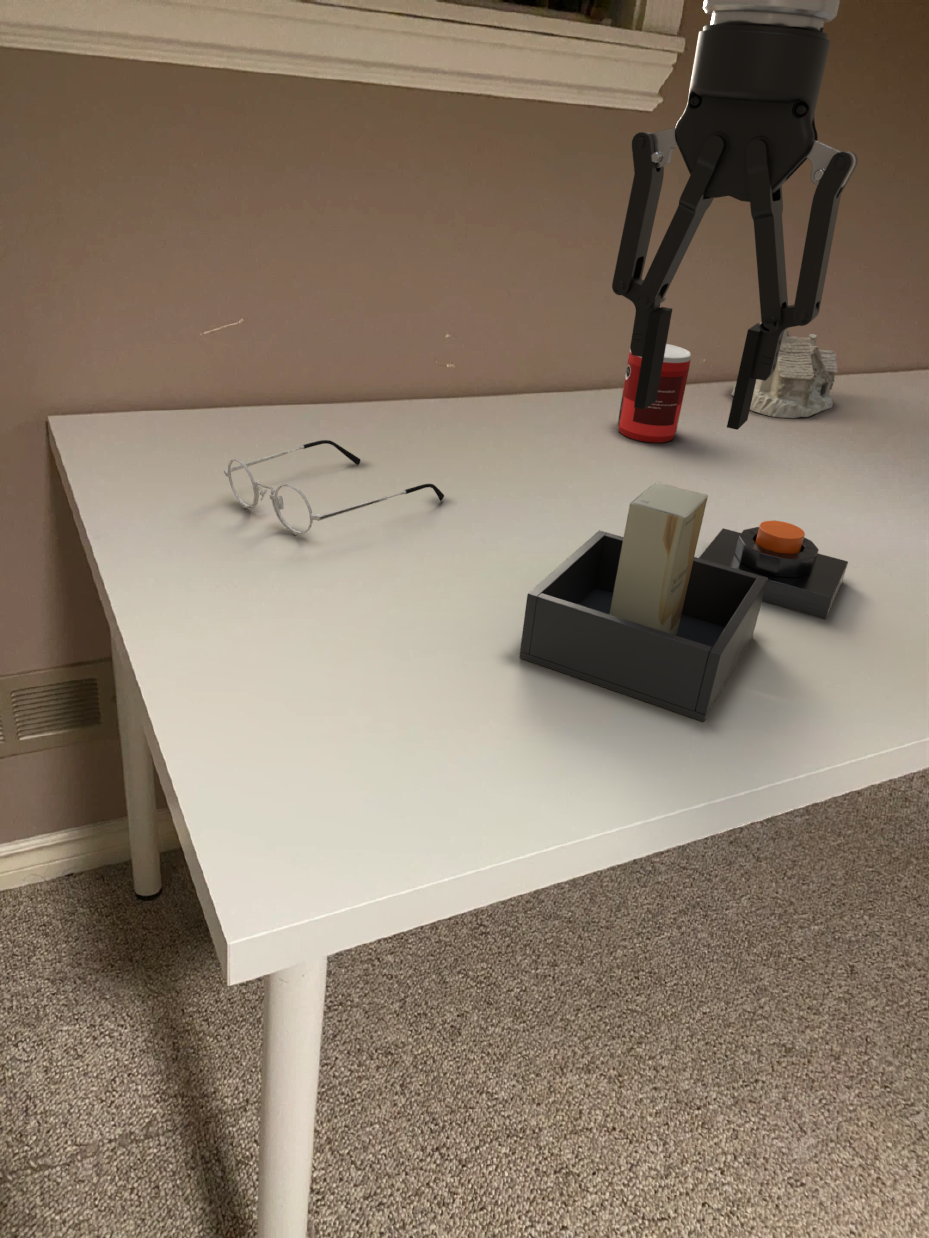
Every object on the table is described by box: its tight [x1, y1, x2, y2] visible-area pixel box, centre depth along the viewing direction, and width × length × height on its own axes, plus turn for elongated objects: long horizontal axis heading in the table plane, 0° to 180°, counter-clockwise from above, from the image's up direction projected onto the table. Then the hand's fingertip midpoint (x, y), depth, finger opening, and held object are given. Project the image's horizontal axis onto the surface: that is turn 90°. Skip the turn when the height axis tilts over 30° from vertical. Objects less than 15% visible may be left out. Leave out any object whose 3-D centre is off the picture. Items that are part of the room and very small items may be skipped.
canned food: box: [617, 343, 692, 444], centre depth 122 cm, size 8×8×11 cm
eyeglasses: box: [223, 439, 445, 536], centre depth 95 cm, size 16×19×5 cm
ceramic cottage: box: [731, 321, 838, 419], centre depth 141 cm, size 16×16×15 cm
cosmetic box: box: [610, 481, 709, 635], centre depth 72 cm, size 6×4×12 cm
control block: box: [698, 526, 849, 620], centre depth 87 cm, size 12×9×4 cm
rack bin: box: [519, 529, 768, 723], centre depth 74 cm, size 15×15×6 cm
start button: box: [755, 520, 806, 554], centre depth 86 cm, size 4×4×2 cm
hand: (690, 413), depth 66 cm, fingers open, 6 cm apart
